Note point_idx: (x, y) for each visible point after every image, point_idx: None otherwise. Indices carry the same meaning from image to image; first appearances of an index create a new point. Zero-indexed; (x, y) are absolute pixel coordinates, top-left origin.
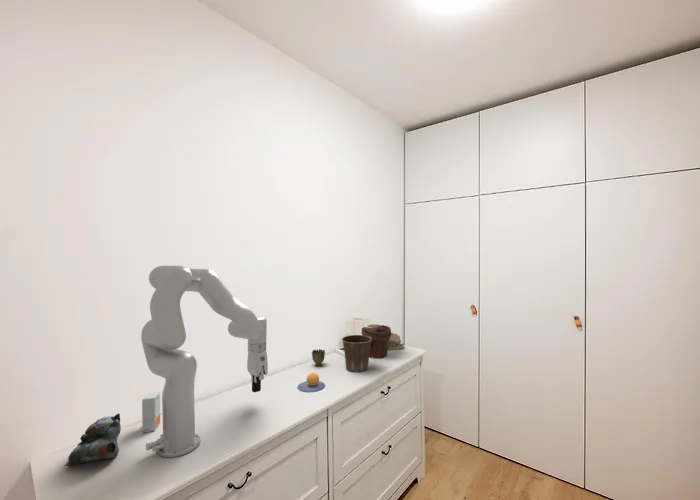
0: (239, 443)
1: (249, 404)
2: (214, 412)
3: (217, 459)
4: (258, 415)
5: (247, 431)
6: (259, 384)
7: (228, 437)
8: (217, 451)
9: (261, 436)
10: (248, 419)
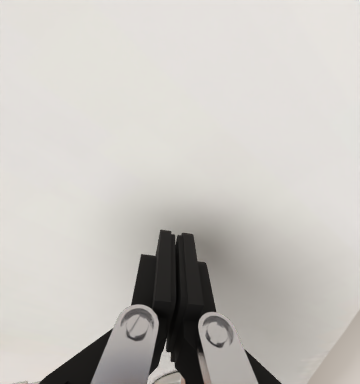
0: (313, 337)
1: (124, 206)
2: (83, 308)
3: (307, 372)
4: (252, 240)
5: (293, 307)
6: (212, 301)
7: (264, 339)
8: (285, 365)
9: (355, 300)
10: (239, 274)
